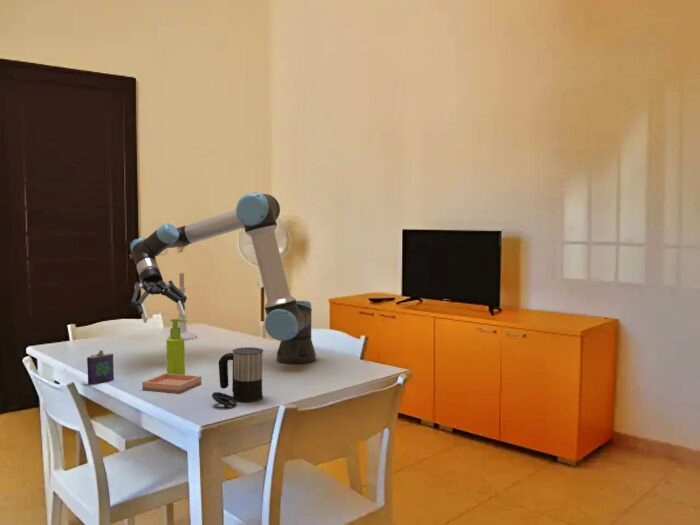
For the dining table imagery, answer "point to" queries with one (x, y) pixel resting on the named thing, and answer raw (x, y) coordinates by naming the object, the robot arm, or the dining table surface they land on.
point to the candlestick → (182, 325)
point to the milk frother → (241, 376)
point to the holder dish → (171, 383)
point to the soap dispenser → (175, 350)
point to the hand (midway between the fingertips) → (165, 318)
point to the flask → (100, 368)
